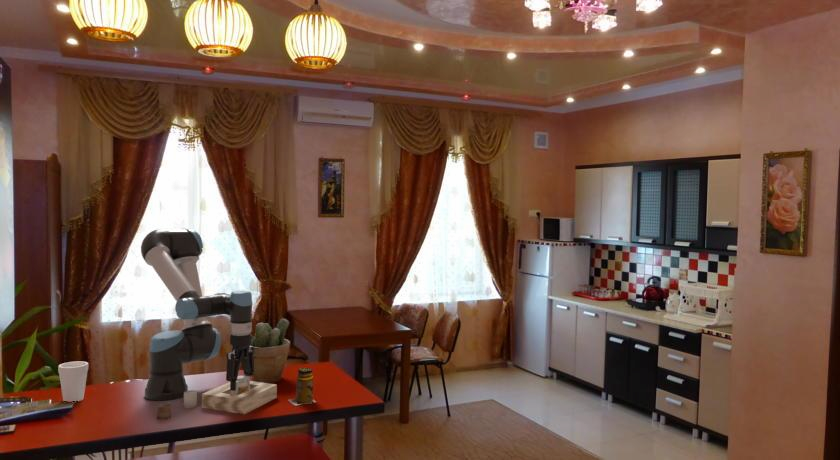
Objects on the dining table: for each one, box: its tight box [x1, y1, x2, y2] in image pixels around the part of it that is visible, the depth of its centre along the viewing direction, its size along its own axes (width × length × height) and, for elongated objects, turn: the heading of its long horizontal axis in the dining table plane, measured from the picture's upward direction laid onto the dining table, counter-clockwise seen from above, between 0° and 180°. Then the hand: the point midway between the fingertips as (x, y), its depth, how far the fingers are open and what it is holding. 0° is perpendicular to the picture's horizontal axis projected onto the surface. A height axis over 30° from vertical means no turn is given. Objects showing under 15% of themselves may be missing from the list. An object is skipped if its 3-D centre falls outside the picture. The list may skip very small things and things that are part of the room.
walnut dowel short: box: [156, 403, 172, 420], centre depth 205 cm, size 4×4×4 cm
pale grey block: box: [183, 389, 198, 409], centre depth 217 cm, size 4×4×5 cm
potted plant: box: [249, 318, 291, 384], centre depth 251 cm, size 18×19×25 cm
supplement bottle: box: [237, 375, 248, 395], centre depth 222 cm, size 5×5×10 cm
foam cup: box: [57, 360, 89, 403], centre depth 221 cm, size 10×9×13 cm
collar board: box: [201, 380, 278, 415], centre depth 222 cm, size 18×20×5 cm
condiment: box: [288, 367, 317, 406], centre depth 224 cm, size 7×8×12 cm
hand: (240, 395), depth 222 cm, fingers open, 6 cm apart
